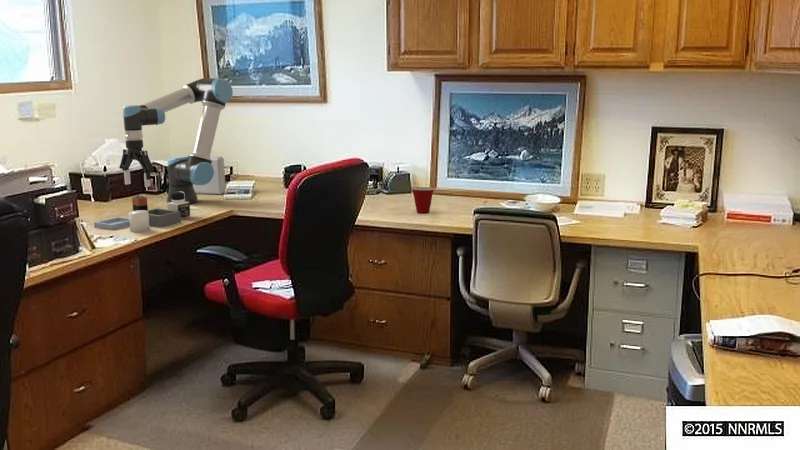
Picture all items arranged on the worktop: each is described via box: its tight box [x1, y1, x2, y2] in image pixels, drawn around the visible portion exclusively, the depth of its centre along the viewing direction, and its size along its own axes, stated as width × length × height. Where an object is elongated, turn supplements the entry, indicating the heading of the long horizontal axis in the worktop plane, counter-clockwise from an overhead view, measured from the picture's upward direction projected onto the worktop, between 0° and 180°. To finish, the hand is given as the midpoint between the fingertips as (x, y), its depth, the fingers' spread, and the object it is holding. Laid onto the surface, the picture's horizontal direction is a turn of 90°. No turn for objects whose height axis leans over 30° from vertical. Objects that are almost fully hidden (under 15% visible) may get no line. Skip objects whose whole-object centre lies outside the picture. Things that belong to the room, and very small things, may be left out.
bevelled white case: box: [193, 155, 227, 195], centre depth 409 cm, size 21×8×20 cm, turn 77°
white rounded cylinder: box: [128, 210, 151, 233], centre depth 325 cm, size 8×8×8 cm
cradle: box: [147, 207, 182, 228], centre depth 338 cm, size 12×15×5 cm
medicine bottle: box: [167, 191, 191, 220], centre depth 349 cm, size 7×7×12 cm
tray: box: [93, 216, 130, 231], centre depth 335 cm, size 13×12×2 cm
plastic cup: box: [411, 186, 435, 215], centre depth 354 cm, size 11×11×12 cm
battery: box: [131, 194, 149, 211], centre depth 353 cm, size 4×7×10 cm, turn 46°
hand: (137, 185), depth 350 cm, fingers open, 13 cm apart
